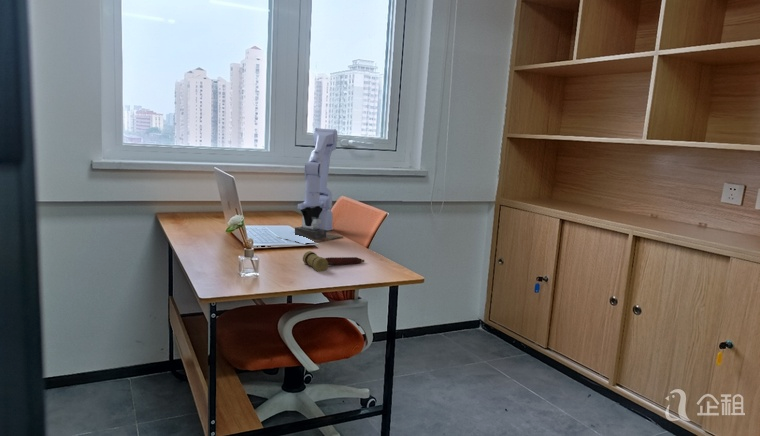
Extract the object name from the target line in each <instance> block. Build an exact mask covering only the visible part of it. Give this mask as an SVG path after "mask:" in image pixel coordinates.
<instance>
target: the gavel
mask: <svg viewBox="0 0 760 436" xmlns="http://www.w3.org/2000/svg"><path fill="white" fill-rule="evenodd" d="M302 261H303V264H305V265H307V266H310V267H312V268H313V269H314V270H315V271H317V272H323V271H327V269H328V267H329V266H346V265H350V266H351V265H359V264H362V263H365V262H366V260H365V259H362V258H360V257H357V256H354V257H353V256H352V257H347V256H346V257H344V256H342V257H341V256H340V257H338V256H337V257H332V256H331V257H322V256H318V255H317V253H315V252H314V251H311V250H309V251H307V252H304V253H303V256H302Z"/></svg>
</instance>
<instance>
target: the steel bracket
mask: <svg viewBox="0 0 760 436" xmlns="http://www.w3.org/2000/svg"><path fill="white" fill-rule="evenodd" d="M301 217H302V219H301V220H302V221H301V227H302V228H303V229H307V230H311V231H317V230H318V224H320V223H321V218H317V217H312V218H311V225H310V226H306V225H305V220H304V217H303V215H302V216H301Z"/></svg>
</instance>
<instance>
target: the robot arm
mask: <svg viewBox="0 0 760 436" xmlns="http://www.w3.org/2000/svg"><path fill="white" fill-rule="evenodd" d="M338 134H339V133H338V130H337V129H336V128H335V129H333V128H332V129H331V128H318V127H315V128H314V130H313V133H312V140H313V145H314V149H313V150H312V151H311V152H310V155H309V158H308V161H307V162H306V163H305V164H304V169H303V170H304V181H305V188H304V190H305V191H304V201H303V202H301V203H298V204H297V210H300V212H301V214H302V216H303V217H304V220H305V225H306V226H310V225H311V218H312V217H317V218H321V223H320V224H318V228H320V229H325V230H327V231H326V232H328V231H334V228H333V212H332V210H331V208H332V205H333V193H332V191H331V190H330V189H329V188H328V181H329V179H328V178H329V170H330V163H331V162H330V161H331V156H332V152H334V151H335V150H336V148H337V142H338Z"/></svg>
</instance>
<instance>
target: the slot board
mask: <svg viewBox="0 0 760 436" xmlns="http://www.w3.org/2000/svg"><path fill="white" fill-rule="evenodd" d="M294 233H295V235H299V236H303V237H306V238H308V239H310V240H312V241H314V242H317V243H322V242H328V241H332V240H333V241H334V240H338V239H343V238H344V236H343V235H340V234H336V233H332V232H328V231H327V230H325V229H320V228H318V230H317V231H311V230H307V229H303V228H302V226H297V227H294Z"/></svg>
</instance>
